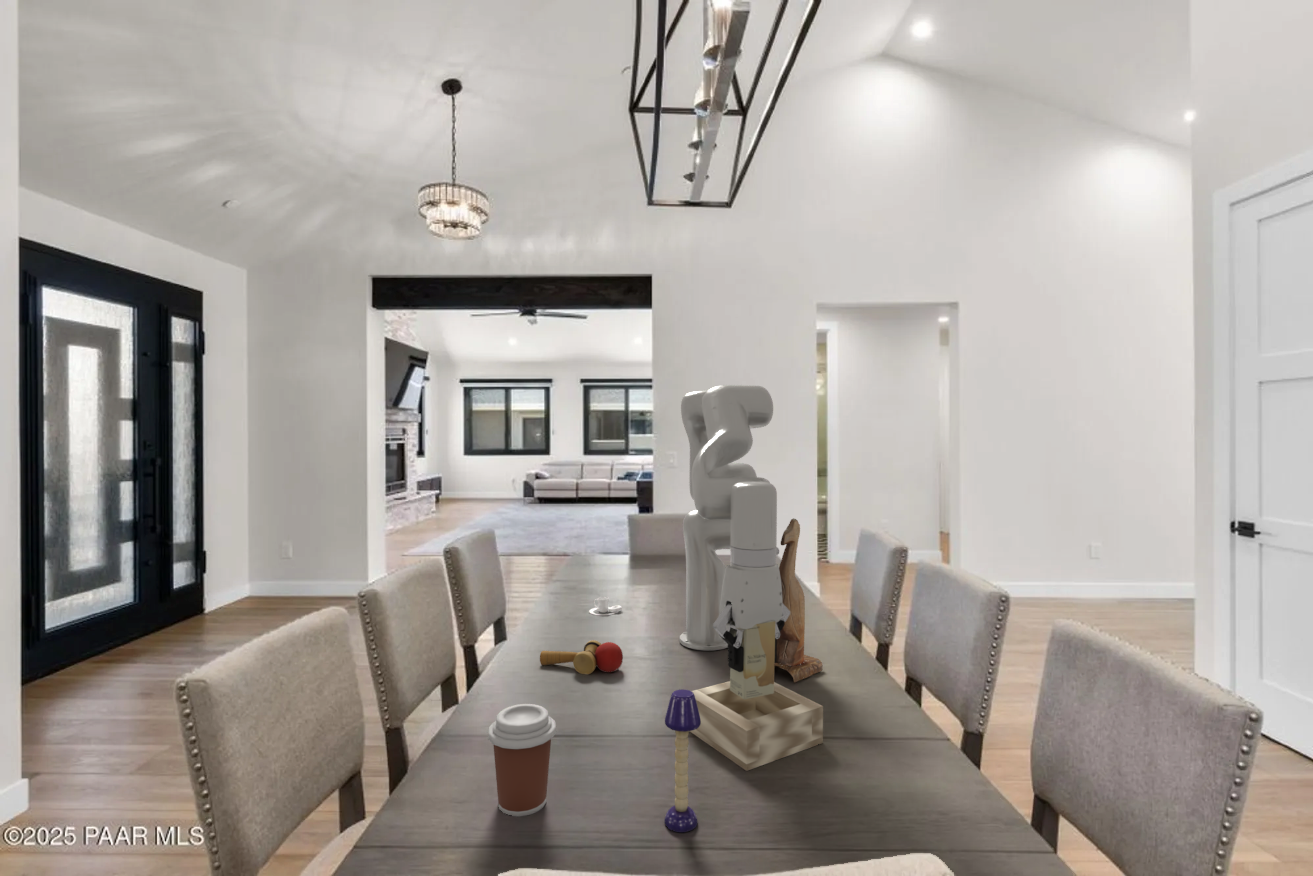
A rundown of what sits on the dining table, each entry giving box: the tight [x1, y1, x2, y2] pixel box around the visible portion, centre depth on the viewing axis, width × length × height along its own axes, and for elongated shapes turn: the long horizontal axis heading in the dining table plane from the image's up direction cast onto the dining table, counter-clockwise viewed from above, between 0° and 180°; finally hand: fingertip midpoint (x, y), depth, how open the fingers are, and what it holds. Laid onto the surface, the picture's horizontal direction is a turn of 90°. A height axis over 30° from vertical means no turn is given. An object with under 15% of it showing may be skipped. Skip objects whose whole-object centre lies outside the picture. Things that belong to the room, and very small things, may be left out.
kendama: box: [539, 639, 624, 675], centre depth 136 cm, size 8×6×18 cm
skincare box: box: [729, 620, 775, 699], centre depth 106 cm, size 6×4×12 cm
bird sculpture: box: [774, 518, 824, 683], centre depth 135 cm, size 11×12×32 cm
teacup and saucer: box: [588, 596, 623, 616], centre depth 177 cm, size 9×8×4 cm
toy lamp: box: [664, 688, 701, 833], centre depth 83 cm, size 5×5×17 cm
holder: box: [689, 680, 824, 772], centre depth 106 cm, size 16×16×6 cm
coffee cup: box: [487, 703, 557, 818], centre depth 87 cm, size 9×9×12 cm
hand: (752, 664), depth 106 cm, fingers closed on skincare box, 6 cm apart
